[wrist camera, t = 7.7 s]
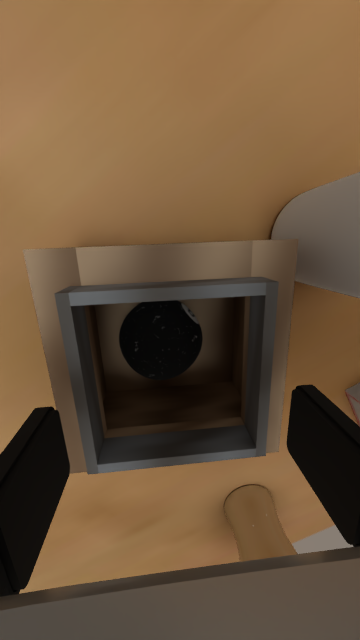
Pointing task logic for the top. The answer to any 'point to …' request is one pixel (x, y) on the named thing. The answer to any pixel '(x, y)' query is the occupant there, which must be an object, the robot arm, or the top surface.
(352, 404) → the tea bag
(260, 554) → the beer glass
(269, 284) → the housing
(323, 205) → the milk bottle
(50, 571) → the top surface
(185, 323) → the billiard ball
